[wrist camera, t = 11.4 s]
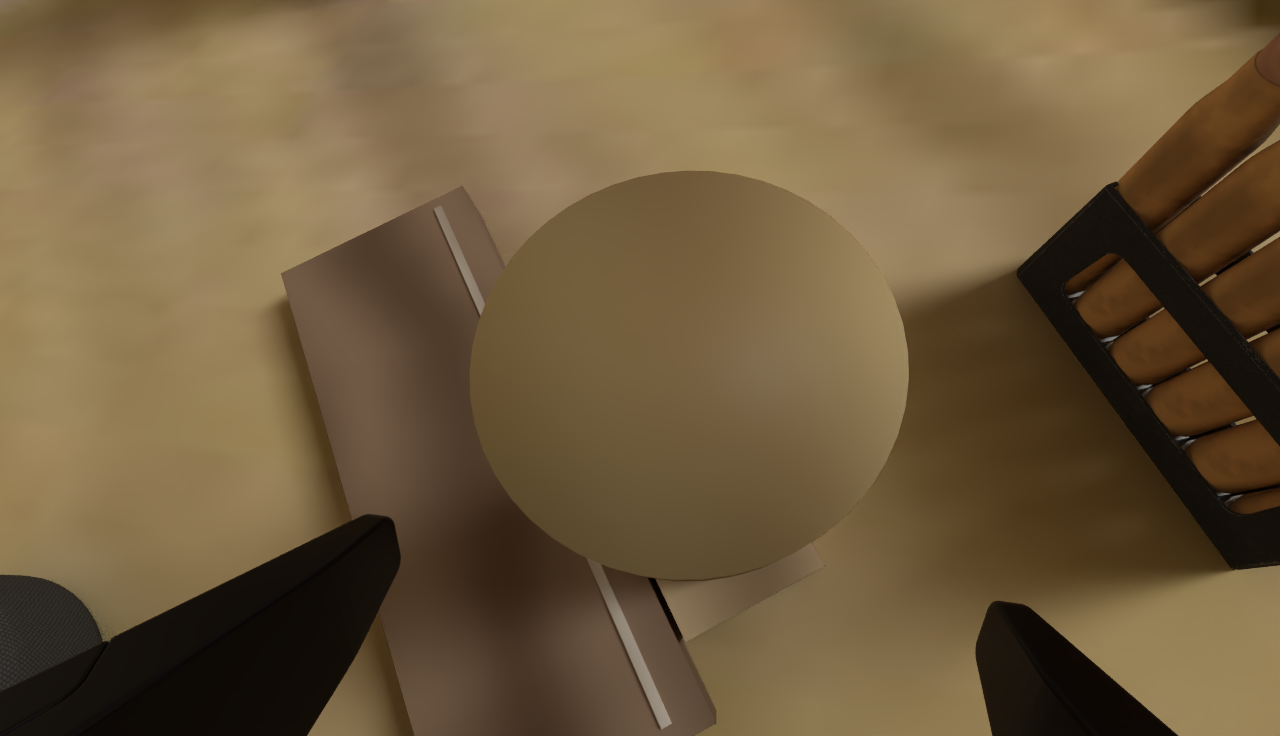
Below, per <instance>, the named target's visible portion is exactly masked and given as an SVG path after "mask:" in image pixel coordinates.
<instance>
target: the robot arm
mask: <svg viewBox="0 0 1280 736" xmlns="http://www.w3.org/2000/svg"><path fill="white" fill-rule="evenodd" d="M400 562H401V553H400V548H399V543H398V538H397V533H396V528H395V524H394V521H393V520H392V518H390V517H388V516H383V515H376V514H365V515H362V516H360V517H358V518H356V519H354V520H352V521H350V522H348V523H346V524H344V525H342V526H340V527H338V528H336V529H334V530H332V531H329V532H327V533H325V534H323V535H321V536H319V537H317V538H315V539H313V540H311V541H309V542H307V543H305V544H303V545H301V546H299V547H297V548H295V549H293V550H291V551H289V552H287V553H284V554H282V555H280V556H278V557H276V558H274V559H272V560H270V561H268V562H266V563H264V564H262V565H260V566H258V567H256V568H254V569H252V570H250V571H248V572H246V573H244V574H241V575H239V576H237V577H235V578H233V579H231V580H229V581H227V582H225V583H223V584H221V585H219V586H217V587H215V588H213V589H211V590H209V591H207V592H205V593H203V594H201V595H198V596H196V597H194V598H192V599H190V600H188V601H186V602H184V603H182V604H180V605H178V606H176V607H174V608H172V609H170V610H168V611H166V612H164V613H162V614H160V615H158V616H155V617H153V618H151V619H149V620H147V621H145V622H143V623H141V624H139V625H137V626H135V627H133V628H131V629H129V630H127V631H125V632H123V633H121V634H119V635H117V636H115V637H113V638H112V639H111V640H110V642H108V641H104V642H102V643H100V644H98V645H96V646H94V647H92V648H90V649H88V650H86V651H84V652H82V653H80V654H78V655H76V656H74V657H72V658H69V659H67V660H65V661H63V662H61V663H59V664H57V665H55V666H53V667H50V668H48V669H46V670H44V671H42V672H40V673H38V674H36V675H34V676H31V677H29V678H27V679H25V680H23V681H21V682H19V683H16V684H14V685H12V686H10V687H7V688H5V689H3V690H1V691H0V736H307V735H308V733H309V732H310V730H311V728H312V727H313V725H314V723H315V722H316V720H317V719H318V717H319V715H320V714H321V712H322V711H323V709H324V707H325V706H326V704H327V702H328V701H329V699H330V698H331V696H332V694H333V693H334V691H335V690H336V688H337V686H338V685H339V683H340V682H341V680H342V678H343V677H344V675H345V673H346V672H347V670H348V668H349V667H350V665H351V663H352V662H353V660H354V658H355V656H356V654H357V653H358V651H359V649H360V647H361V645H362V643H363V641H364V639H365V637H366V635H367V633H368V631H369V629H370V627H371V625H372V623H373V621H374V619H375V617H376V615H377V613H378V611H379V609H380V607H381V605H382V603H383V601H384V599H385V597H386V595H387V593H388V591H389V589H390V587H391V585H392V582H393V580H394V578H395V576H396V574H397V572H398V570H399V567H400ZM976 662H977V666H978V671H979V676H980V680H981V685H982V690H983V694H984V699H985V704H986V708H987V713H988V718H989V722H990V727H991V731H992V736H1178V735H1177V734H1176V733H1175V732H1173V731H1172V730H1171V729H1170V728H1169V727H1168V726H1166V725H1165V724H1164V723H1163V722H1162V721H1161V720H1159V719H1158V718H1157V717H1156V716H1155V715H1154V714H1153V713H1151V712H1150V711H1149V710H1148V709H1147V708H1146V707H1144V706H1143V705H1142V704H1141V703H1140V702H1139V701H1137V700H1136V699H1135V698H1134V697H1133V696H1132V695H1131V694H1129V693H1128V692H1127V691H1126V690H1125V689H1124V688H1122V687H1121V686H1120V685H1119V684H1118V683H1117V682H1115V681H1114V680H1113V679H1112V678H1111V677H1110V676H1109V675H1107V674H1106V673H1105V672H1104V671H1103V670H1102V669H1100V668H1099V667H1098V666H1097V665H1096V664H1095V663H1093V662H1092V661H1091V660H1090V659H1089V658H1088V657H1087V656H1085V655H1084V654H1083V653H1082V652H1081V651H1080V650H1078V649H1077V648H1076V647H1075V646H1074V645H1073V644H1071V643H1070V642H1069V641H1068V640H1067V639H1066V638H1065V637H1063V636H1062V635H1061V634H1060V633H1059V632H1058V631H1056V630H1055V629H1054V628H1053V627H1052V626H1051V625H1049V624H1048V623H1047V622H1046V621H1045V620H1044V619H1042V618H1041V617H1040V616H1039V615H1038V614H1037V613H1036V612H1034V611H1033V610H1032V609H1031V608H1029V607H1028V606H1026V605H1023V604H1018V603H1011V602H1003V601H994V602H992V603H991V604H990V606H989V608H988V610H987V613H986V616H985V619H984V622H983V624H982V627H981V630H980V633H979V636H978V639H977V642H976Z"/></svg>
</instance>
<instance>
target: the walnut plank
mask: <svg viewBox="0 0 1280 736" xmlns="http://www.w3.org/2000/svg"><path fill="white" fill-rule="evenodd" d="M504 269H505V265H504V263H503V261H502V259H501V257H500V255H499V253H498V250H497V248H496V246H495V244H494V242H493V240H492V238H491V236H490V234H489V232H488V229H487V227H486V225H485V223H484V221H483V219H482V217H481V215H480V213H479V211H478V210H477V208H476V206H475V205H474V203H473V202H472V200H471V198H470V197H469V195H468V194H467V192H466V190H465V189H464V187H463V186H461V187H459V188H457V189H455V190H453V191H451V192H449V193H447V194H444V195H442V196H440V197H438V198H436V199H434V200H432V201H430V202H428V203H426V204H424V205H422V206H420V207H418V208H415V209H413V210H411V211H409V212H407V213H405V214H403V215H401V216H399V217H397V218H395V219H393V220H391V221H389V222H387V223H384V224H382V225H380V226H378V227H376V228H374V229H372V230H370V231H368V232H366V233H364V234H362V235H360V236H358V237H356V238H353V239H351V240H349V241H347V242H345V243H343V244H341V245H339V246H337V247H335V248H333V249H331V250H329V251H327V252H324V253H322V254H320V255H318V256H316V257H314V258H312V259H310V260H308V261H306V262H304V263H302V264H300V265H298V266H296V267H293V268H291V269H289V270H287V271H285V272H283V273H281V275H282V278H283V282H284V285H285V289H286V292H287V296H288V299H289V303H290V306H291V310H292V313H293V316H294V320H295V323H296V327H297V330H298V334H299V337H300V341H301V344H302V348H303V351H304V355H305V358H306V362H307V365H308V368H309V372H310V375H311V379H312V382H313V386H314V389H315V393H316V396H317V400H318V403H319V407H320V410H321V414H322V417H323V421H324V424H325V427H326V431H327V434H328V438H329V441H330V445H331V448H332V452H333V455H334V459H335V462H336V466H337V469H338V473H339V476H340V480H341V483H342V486H343V490H344V493H345V497H346V500H347V504H348V507H349V511H350V514H351V518H352V520H354V519H356V518H358V517H360V516H362V515H365V514H376V515H383V516H388V517H390V518H392V520H393V521H394V524H395V528H396V533H397V538H398V543H399V548H400V553H401V562H400V567H399V570H398V572H397V574H396V576H395V578H394V580H393V582H392V585H391V587H390V589H389V591H388V593H387V595H386V597H385V599H384V601H383V603H382V605H381V607H380V609H379V615H380V618H381V622H382V625H383V629H384V632H385V636H386V639H387V643H388V646H389V650H390V653H391V656H392V660H393V663H394V667H395V670H396V674H397V677H398V681H399V684H400V688H401V691H402V695H403V698H404V702H405V705H406V708H407V712H408V715H409V719H410V722H411V726H412V729H413V733H414V736H694V735H696V734H698V733H700V732H701V731H703V730H705V729H707V728H709V727H710V726H712V725H714V724H716V709H715V707H714V705H713V703H712V701H711V698H710V696H709V694H708V692H707V690H706V688H705V686H704V684H703V682H702V680H701V677H700V675H699V673H698V671H697V669H696V667H695V665H694V663H693V661H692V659H691V656H690V654H689V652H688V650H687V648H686V646H685V644H684V642H683V640H682V637H681V635H680V633H679V631H678V629H677V627H676V625H675V623H674V621H673V619H672V616H671V614H670V612H669V610H668V608H667V606H666V604H665V602H664V600H663V598H662V595H661V593H660V591H659V589H658V587H657V585H656V583H655V581H654V579H653V578H649V577H644V576H639V575H635V574H632V573H628V572H624V571H621V570H617V569H614V568H610V567H607V566H604V565H602V564H600V563H598V562H595V561H593V560H591V559H588V558H586V557H584V556H581V555H579V554H577V553H576V552H574V551H572V550H571V549H569V548H568V547H566V546H564V545H563V544H561V543H560V542H558V541H556V540H555V539H553V538H552V537H551V536H549V535H548V534H547V533H546V532H544V531H543V530H542V529H541V528H540V527H538V526H537V525H536V524H535V523H534V522H532V521H531V520H530V519H529V518H528V517H527V516H526V515H525V513H524V512H523V511H522V510H521V509H520V508H519V507H518V506H517V505H516V503H515V502H514V501H513V500H512V499H511V498H510V496H509V495H508V493H507V492H506V490H505V489H504V487H503V486H502V485H501V483H500V482H499V480H498V479H497V477H496V476H495V474H494V472H493V470H492V468H491V466H490V464H489V462H488V459H487V457H486V455H485V453H484V451H483V449H482V446H481V442H480V439H479V436H478V433H477V430H476V427H475V423H474V417H473V411H472V405H471V399H470V363H471V354H472V346H473V342H474V337H475V333H476V329H477V325H478V321H479V319H480V316H481V314H482V311H483V308H484V306H485V303H486V300H487V298H488V296H489V294H490V292H491V291H492V289H493V287H494V285H495V283H496V281H497V279H498V277H499V276H500V274H501V273H502V272H503V270H504Z"/></svg>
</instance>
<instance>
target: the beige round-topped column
mask: <svg viewBox="0 0 1280 736" xmlns="http://www.w3.org/2000/svg"><path fill="white" fill-rule="evenodd" d="M908 383H909V367H908V348H907V343H906V337H905V332H904V326H903V322H902V319H901V316H900V313H899V310H898V307H897V304H896V301H895V298H894V296H893V294H892V292H891V290H890V288H889V286H888V284H887V282H886V280H885V278H884V276H883V274H882V273H881V271H880V270H879V268H878V267H877V265H876V264H875V262H874V261H873V259H872V258H871V256H870V255H869V254H868V252H867V251H866V250H865V249H864V248H863V247H862V245H861V244H860V243H859V242H858V241H857V240H856V239H855V238H854V237H853V235H852V234H851V233H850V232H849V231H847V230H846V229H845V228H844V227H843V226H842V225H841V224H839V223H838V222H837V221H836V220H835V219H834V218H832V217H831V216H830V215H829V214H827V213H826V212H824V211H823V210H821V209H820V208H818V207H817V206H815V205H814V204H812V203H811V202H809V201H807V200H805V199H803V198H801V197H799V196H797V195H795V194H793V193H791V192H789V191H787V190H785V189H783V188H780V187H777V186H775V185H772V184H769V183H766V182H764V181H761V180H756V179H752V178H748V177H744V176H740V175H735V174H728V173H720V172H713V171H679V172H667V173H659V174H653V175H648V176H643V177H638V178H634V179H631V180H628V181H624V182H621V183H618V184H615V185H612V186H609V187H607V188H605V189H602V190H600V191H598V192H595V193H593V194H591V195H589V196H587V197H585V198H583V199H581V200H580V201H578V202H576V203H574V204H573V205H571V206H569V207H567V208H566V209H565V210H563V211H562V212H560V213H559V214H558V215H556V216H555V217H553V218H552V219H551V220H549V221H548V222H547V223H546V224H544V225H543V226H542V227H541V228H540V229H539V230H538V231H537V232H536V233H534V234H533V235H532V236H531V237H530V238H529V239H528V240H527V241H526V242H525V244H524V245H523V246H522V247H521V248H520V249H519V250H518V251H517V253H516V254H515V255H514V256H513V257H512V259H511V260H510V262H509V263H508V264H507V266H506V267H505V269H504V270H503V272H502V273H501V274H500V276H499V277H498V279H497V281H496V283H495V285H494V287H493V289H492V291H491V292H490V294H489V296H488V298H487V300H486V303H485V306H484V308H483V311H482V314H481V316H480V319H479V321H478V325H477V329H476V333H475V337H474V342H473V346H472V354H471V363H470V399H471V405H472V411H473V417H474V423H475V427H476V430H477V433H478V436H479V439H480V442H481V446H482V449H483V451H484V453H485V455H486V457H487V459H488V462H489V464H490V466H491V468H492V470H493V472H494V474H495V476H496V477H497V479H498V480H499V482H500V483H501V485H502V486H503V487H504V489H505V490H506V492H507V493H508V495H509V496H510V498H511V499H512V500H513V501H514V502H515V503H516V505H517V506H518V507H519V508H520V509H521V510H522V511H523V512H524V513H525V515H526V516H527V517H528V518H529V519H530V520H531V521H532V522H534V523H535V524H536V525H537V526H538V527H540V528H541V529H542V530H543V531H544V532H546V533H547V534H548V535H549V536H551V537H552V538H553V539H555V540H556V541H558V542H560V543H561V544H563V545H564V546H566V547H568V548H569V549H571V550H572V551H574V552H576V553H577V554H579V555H581V556H584V557H586V558H588V559H591V560H593V561H595V562H598V563H600V564H602V565H604V566H607V567H610V568H614V569H617V570H621V571H624V572H628V573H632V574H635V575H639V576H644V577H649V578H655V579H656V581H657V583H658V585H659V587H660V589H661V591H662V594H663V596H664V598H665V600H666V602H667V604H668V606H669V608H670V610H671V612H672V615H673V617H674V619H675V621H676V623H677V625H678V627H679V629H680V631H681V633H682V636H683V638H684V640H685V642H687V641H689V640H690V639H692V638H694V637H696V636H698V635H700V634H701V633H703V632H705V631H707V630H709V629H711V628H712V627H714V626H716V625H718V624H720V623H722V622H723V621H725V620H727V619H729V618H731V617H733V616H734V615H736V614H738V613H740V612H742V611H744V610H745V609H747V608H749V607H751V606H753V605H755V604H756V603H758V602H760V601H762V600H764V599H766V598H767V597H769V596H771V595H773V594H775V593H777V592H778V591H780V590H782V589H784V588H786V587H788V586H789V585H791V584H793V583H795V582H797V581H799V580H801V579H802V578H804V577H806V576H808V575H810V574H812V573H813V572H815V571H817V570H819V569H821V568H823V567H824V566H826V565H825V563H824V562H823V560H822V558H821V557H820V555H819V553H818V552H817V550H816V548H815V547H814V545H813V543H812V542H813V541H814V540H816V539H817V538H819V537H821V536H822V535H824V534H825V533H826V532H827V531H828V530H830V529H831V528H832V527H833V526H834V525H835V524H837V523H838V522H839V521H840V520H841V519H842V518H844V517H845V516H846V515H847V514H848V513H849V512H850V511H851V510H852V509H853V507H854V506H855V505H856V504H857V503H858V502H859V501H860V499H861V498H862V497H863V496H864V495H865V494H866V492H867V491H868V490H869V489H870V487H871V486H872V484H873V482H874V481H875V479H876V478H877V476H878V475H879V473H880V471H881V470H882V468H883V467H884V465H885V464H886V461H887V459H888V457H889V455H890V452H891V450H892V448H893V446H894V443H895V441H896V439H897V437H898V433H899V430H900V426H901V422H902V419H903V415H904V411H905V408H906V399H907V391H908Z"/></svg>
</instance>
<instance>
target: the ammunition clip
mask: <svg viewBox="0 0 1280 736" xmlns="http://www.w3.org/2000/svg"><path fill="white" fill-rule="evenodd" d="M1279 124H1280V33H1279V34H1278V35H1277V36H1276V37H1275V38H1274V39H1273V40H1272V41H1271V42H1270V43H1269V44H1268V45H1267V46H1266V47H1265V48H1264V49H1262V50H1260V51H1259V52H1257V53H1256V54H1255V55H1254V56H1253V57H1252V58H1251V59H1250V60H1249V61H1248V62H1246V63H1245V64H1244V65H1243V66H1242V67H1241V68H1240V69H1239V70H1238V71H1237V72H1236V73H1235V74H1234V75H1232V76H1231V77H1230V78H1229V79H1228V80H1227V81H1225V82H1224V83H1223V84H1221V85H1220V86H1218V87H1217V88H1216V89H1214V90H1213V91H1211V92H1210V93H1209V94H1207V95H1206V96H1204V97H1203V98H1202V99H1200V100H1199V101H1198V102H1196V103H1195V104H1194V105H1193V106H1192V107H1191V108H1190V109H1189V110H1188V111H1187V112H1186V113H1185V114H1184V115H1183V116H1182V117H1181V118H1180V119H1179V120H1178V121H1177V122H1176V123H1175V124H1174V125H1173V126H1172V127H1171V128H1170V129H1169V130H1168V131H1167V132H1166V133H1165V134H1164V135H1163V136H1162V137H1161V138H1160V139H1159V140H1158V141H1157V142H1156V143H1155V144H1154V145H1153V146H1152V147H1151V148H1150V149H1149V150H1148V151H1147V152H1146V153H1145V154H1144V155H1143V157H1142V158H1141V159H1140V160H1139V161H1138V162H1137V163H1136V164H1135V165H1134V166H1133V167H1132V168H1131V169H1130V170H1129V171H1128V172H1127V173H1126V174H1125V175H1124V176H1123V177H1122V178H1121V179H1120V180H1119V181H1118V182H1113V183H1111V184H1108V185H1106V186H1105V187H1104V188H1103V189H1102V190H1101V191H1100V192H1099V193H1098V194H1097V195H1096V196H1095V197H1094V198H1093V199H1091V200H1090V201H1089V202H1088V203H1087V204H1086V205H1085V206H1084V207H1083V208H1082V209H1081V210H1080V211H1079V212H1078V213H1077V214H1075V215H1074V216H1073V217H1072V218H1071V219H1070V220H1069V221H1068V222H1067V223H1066V224H1065V225H1064V226H1063V227H1062V228H1061V229H1060V230H1058V231H1057V232H1056V233H1055V234H1054V235H1053V236H1052V237H1051V238H1050V239H1049V240H1048V241H1047V242H1046V243H1045V244H1044V245H1042V246H1041V247H1040V248H1039V249H1038V250H1037V251H1036V252H1035V253H1034V254H1033V255H1032V256H1031V257H1030V258H1029V259H1028V260H1026V261H1025V262H1024V263H1023V264H1022V265H1021V266H1020V267H1019V268H1018V271H1017V277H1018V278H1019V279H1020V281H1021V282H1022V283H1023V285H1024V286H1025V287H1026V289H1027V290H1028V292H1029V293H1030V294H1031V296H1032V297H1033V298H1034V300H1035V301H1036V303H1037V304H1038V305H1039V307H1040V308H1041V309H1042V311H1043V312H1044V313H1045V315H1046V316H1047V318H1048V319H1049V320H1050V322H1051V323H1052V324H1053V326H1054V327H1055V328H1056V330H1057V331H1058V333H1059V334H1060V335H1061V337H1062V338H1063V339H1064V341H1065V342H1066V343H1067V345H1068V346H1069V348H1070V349H1071V350H1072V352H1073V353H1074V354H1075V356H1076V357H1077V358H1078V360H1079V361H1080V363H1081V364H1082V365H1083V367H1084V368H1085V369H1086V371H1087V372H1088V374H1089V375H1090V376H1091V378H1092V379H1093V380H1094V382H1095V383H1096V384H1097V386H1098V387H1099V389H1100V390H1101V391H1102V393H1103V394H1104V395H1105V397H1106V398H1107V399H1108V401H1109V402H1110V404H1111V405H1112V406H1113V408H1114V409H1115V410H1116V412H1117V413H1118V414H1119V416H1120V417H1121V419H1122V420H1123V421H1124V423H1125V424H1126V425H1127V427H1128V428H1129V430H1130V431H1131V432H1132V434H1133V435H1134V436H1135V438H1136V439H1137V440H1138V442H1139V443H1140V445H1141V446H1142V447H1143V449H1144V450H1145V451H1146V453H1147V454H1148V455H1149V457H1150V458H1151V460H1152V461H1153V462H1154V464H1155V465H1156V466H1157V468H1158V469H1159V470H1160V472H1161V473H1162V475H1163V476H1164V477H1165V479H1166V480H1167V481H1168V483H1169V484H1170V485H1171V487H1172V488H1173V490H1174V491H1175V492H1176V494H1177V495H1178V496H1179V498H1180V499H1181V501H1182V502H1183V503H1184V505H1185V506H1186V507H1187V509H1188V510H1189V511H1190V513H1191V514H1192V516H1193V517H1194V518H1195V520H1196V521H1197V522H1198V524H1199V525H1200V526H1201V528H1202V529H1203V531H1204V532H1205V533H1206V535H1207V536H1208V537H1209V539H1210V540H1211V541H1212V543H1213V544H1214V546H1215V547H1216V548H1217V550H1218V551H1219V552H1220V554H1221V555H1222V556H1223V558H1224V559H1225V561H1226V562H1227V563H1228V565H1229V566H1230V567H1231V568H1234V569H1237V570H1241V569H1250V568H1259V567H1268V566H1277V565H1280V237H1279V238H1277V239H1276V240H1274V241H1272V242H1271V243H1269V244H1268V245H1266V246H1264V247H1263V248H1261V249H1260V250H1258V251H1256V252H1255V253H1253V252H1252V251H1251V249H1253V248H1254V247H1256V246H1257V245H1259V244H1261V243H1262V242H1264V241H1265V240H1267V239H1268V238H1270V237H1271V236H1273V235H1274V234H1276V233H1277V232H1279V231H1280V140H1279V141H1278V142H1276V143H1274V144H1272V145H1270V146H1269V147H1267V148H1265V149H1264V150H1262V151H1260V152H1259V153H1257V154H1255V155H1254V156H1252V157H1251V158H1249V159H1248V160H1247V161H1245V162H1244V163H1243V164H1241V165H1240V166H1239V167H1238V168H1236V169H1235V170H1234V171H1233V172H1232V173H1230V174H1229V175H1228V176H1227V177H1225V178H1224V179H1223V180H1222V181H1220V182H1219V183H1218V184H1217V185H1215V186H1214V187H1213V188H1212V189H1211V190H1209V191H1208V192H1207V193H1206V194H1204V195H1203V196H1202V197H1201V195H1202V194H1203V193H1204V192H1206V191H1207V190H1208V189H1209V188H1210V187H1212V186H1213V185H1214V184H1215V183H1216V182H1218V181H1219V180H1220V179H1221V178H1222V177H1224V176H1225V175H1226V174H1227V173H1228V172H1230V171H1231V170H1232V169H1233V168H1234V167H1236V166H1237V165H1238V164H1239V163H1240V162H1242V161H1243V160H1244V159H1245V158H1246V157H1248V156H1249V155H1250V154H1251V153H1252V152H1254V151H1255V150H1256V149H1257V148H1258V147H1259V146H1260V145H1262V144H1263V143H1264V142H1265V141H1266V140H1267V139H1268V138H1269V136H1270V135H1271V134H1272V133H1273V132H1274V130H1275V129H1276V128H1277V127H1278V125H1279ZM1213 274H1216V275H1217V277H1215V278H1213V279H1212V280H1210V281H1209V282H1207V283H1205V284H1204V285H1202V286H1201V287H1200V286H1199V285H1198V284H1199V283H1201V282H1202V281H1204V280H1205V279H1207V278H1208V277H1210V276H1212V275H1213ZM1163 307H1164V308H1165V309H1164V310H1162V311H1161V312H1159V313H1157V314H1156V315H1154V316H1153V317H1151V318H1149V316H1150V315H1152V314H1153V313H1155V312H1156V311H1158V310H1160V309H1161V308H1163ZM1265 330H1266V331H1267V332H1268V334H1266V335H1264V336H1261V337H1259V338H1257V339H1255V340H1253V341H1251V342H1249V343H1248V341H1247V339H1249V338H1251V337H1253V336H1255V335H1257V334H1259V333H1261V332H1263V331H1265ZM1206 359H1207V360H1208V362H1205V363H1203V364H1201V365H1199V366H1197V367H1195V368H1193V369H1191V368H1190V367H1192V366H1194V365H1196V364H1198V363H1200V362H1202V361H1204V360H1206ZM1251 416H1255V418H1256V420H1253V421H1250V422H1247V423H1243V424H1240V425H1236V424H1235V422H1236V421H1239V420H1242V419H1245V418H1248V417H1251Z"/></svg>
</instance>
